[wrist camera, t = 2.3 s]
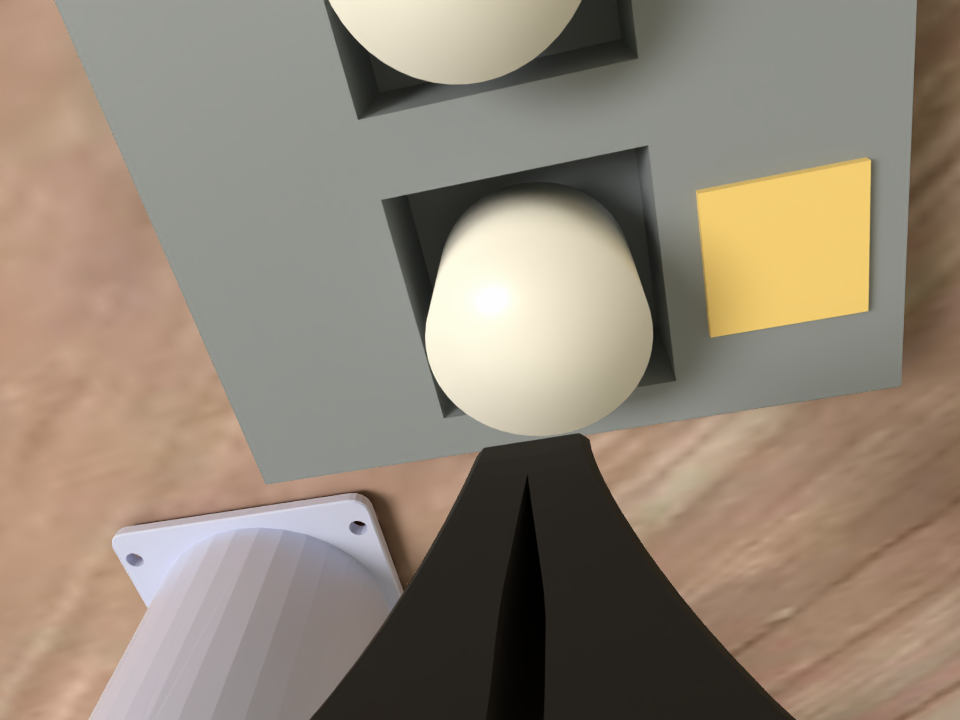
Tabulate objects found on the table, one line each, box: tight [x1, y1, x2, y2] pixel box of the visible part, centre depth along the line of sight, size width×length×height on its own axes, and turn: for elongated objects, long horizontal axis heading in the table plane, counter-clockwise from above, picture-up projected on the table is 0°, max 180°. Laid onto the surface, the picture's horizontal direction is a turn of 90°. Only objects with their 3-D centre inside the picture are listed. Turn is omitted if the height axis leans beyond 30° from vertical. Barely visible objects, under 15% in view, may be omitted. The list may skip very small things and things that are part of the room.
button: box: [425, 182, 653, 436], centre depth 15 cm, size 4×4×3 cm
